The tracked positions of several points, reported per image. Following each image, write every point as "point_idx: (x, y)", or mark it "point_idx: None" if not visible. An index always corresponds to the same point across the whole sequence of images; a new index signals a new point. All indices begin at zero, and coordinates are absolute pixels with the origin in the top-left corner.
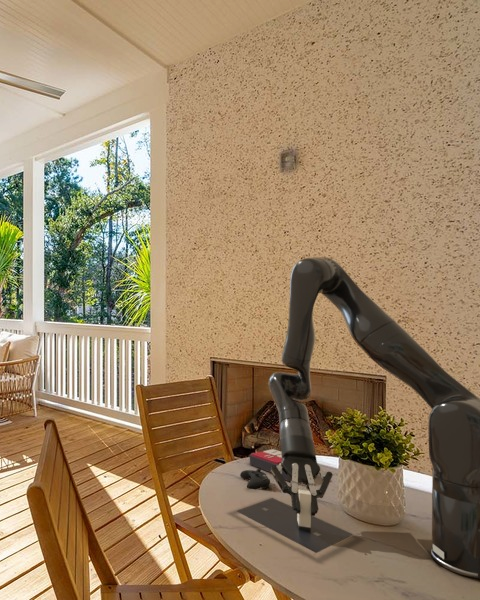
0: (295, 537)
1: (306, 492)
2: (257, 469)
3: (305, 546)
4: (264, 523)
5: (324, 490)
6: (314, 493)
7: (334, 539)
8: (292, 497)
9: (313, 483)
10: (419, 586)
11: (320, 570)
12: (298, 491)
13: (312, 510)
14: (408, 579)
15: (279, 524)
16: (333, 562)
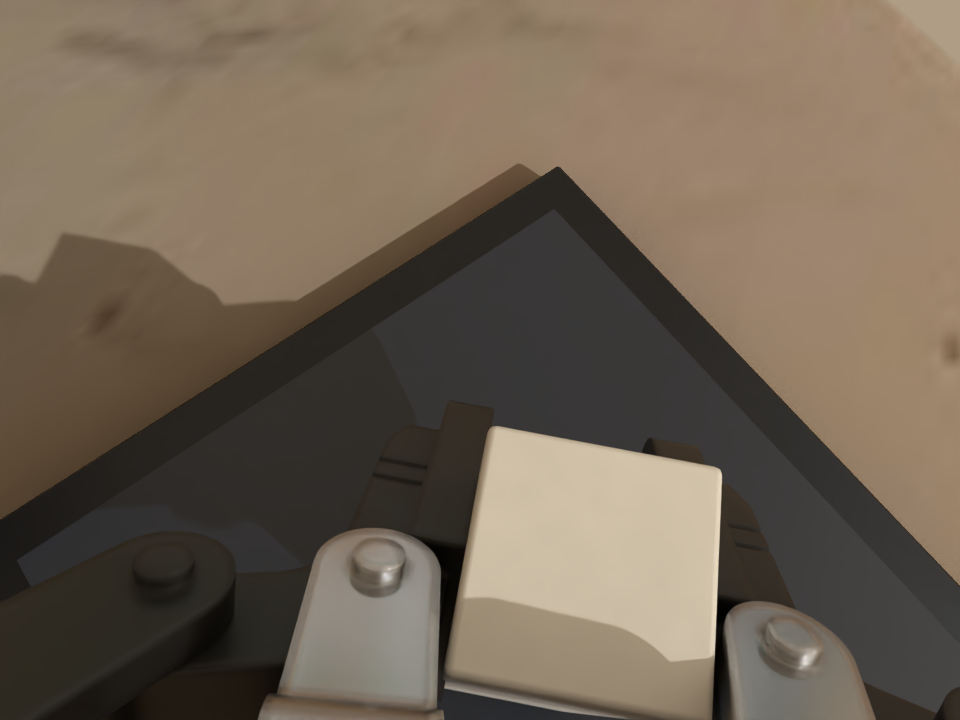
0: (657, 418)
1: (561, 514)
2: None
3: (610, 285)
4: (929, 672)
5: (93, 576)
6: (373, 541)
7: (286, 429)
8: (785, 589)
9: (297, 706)
10: (8, 9)
11: (575, 95)
12: (712, 594)
13: (488, 410)
14: (20, 61)
15: None
16: (443, 183)
